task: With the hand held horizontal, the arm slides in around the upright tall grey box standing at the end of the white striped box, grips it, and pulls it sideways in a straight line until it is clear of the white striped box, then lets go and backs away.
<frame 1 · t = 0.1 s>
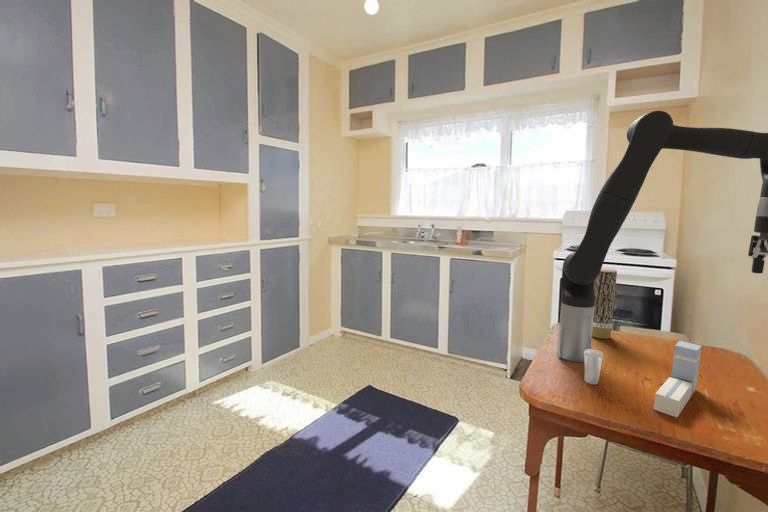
hand: (766, 275, 101), 29 cm above the table, tool pointing down, fingers open, 8 cm apart
tall grey box: (685, 367, 98), point 6 cm above the table, slide at 0.0 cm
white striped box: (673, 394, 92), on the table
paper tube: (599, 337, 138), on the table
milkshake: (590, 382, 103), on the table
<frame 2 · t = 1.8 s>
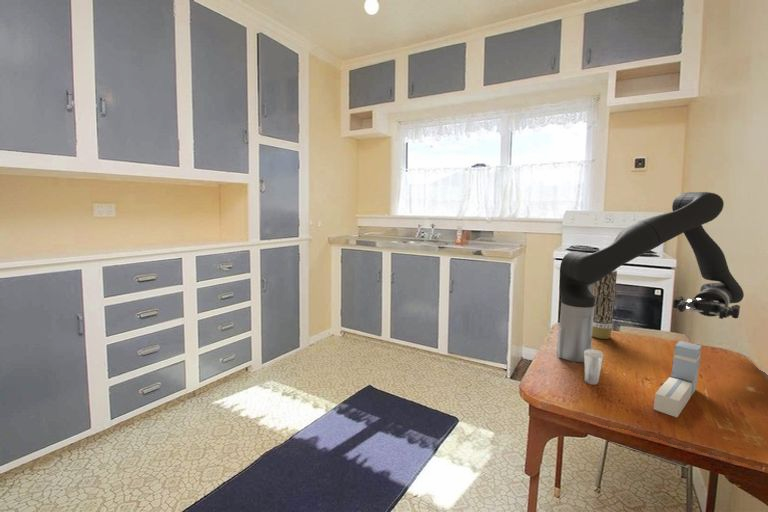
hand: (700, 311, 103), 19 cm above the table, tool horizontal, fingers open, 8 cm apart
nothing on the table moved.
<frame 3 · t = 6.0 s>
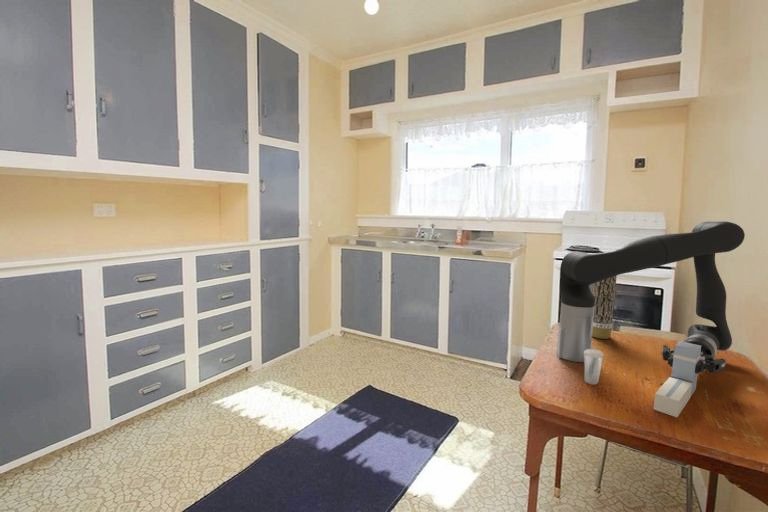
hand: (684, 366, 96), 7 cm above the table, tool horizontal, fingers closed on tall grey box, 4 cm apart
tall grey box: (685, 367, 98), point 6 cm above the table, slide at 0.0 cm, touching gripper
everything else where it was.
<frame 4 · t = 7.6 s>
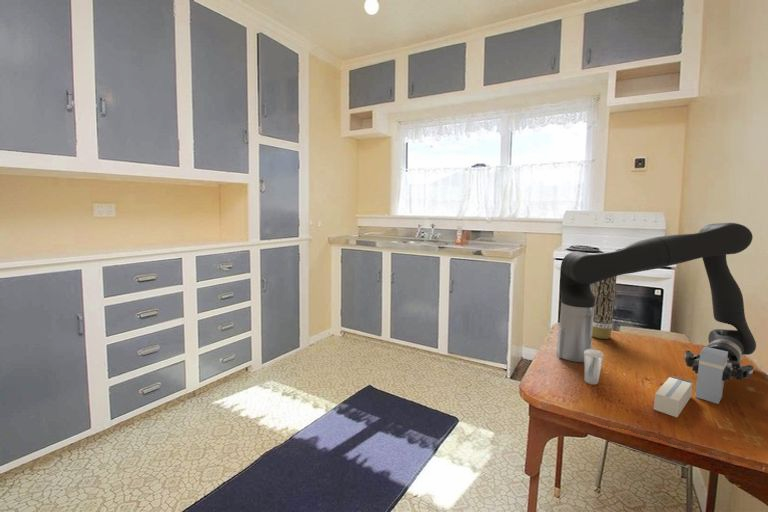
hand: (710, 373, 92), 7 cm above the table, tool horizontal, fingers closed on tall grey box, 4 cm apart
tall grey box: (711, 374, 94), point 6 cm above the table, slide at 5.1 cm, touching gripper
everything else where it was.
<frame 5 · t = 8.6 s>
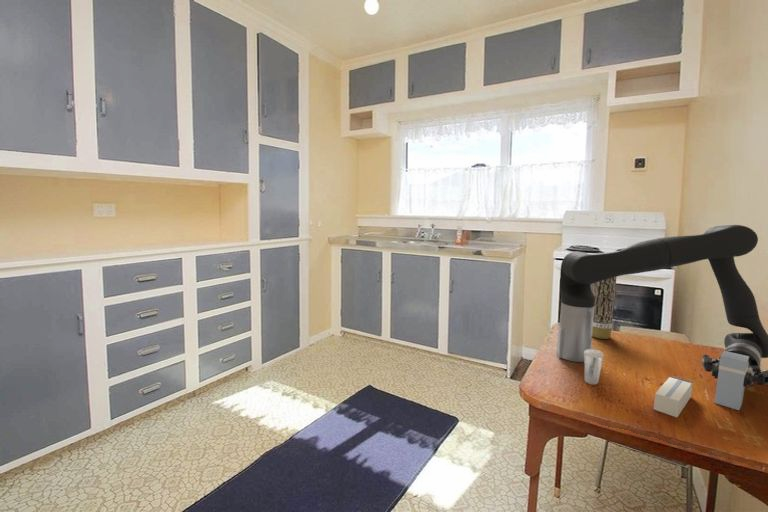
hand: (730, 378, 90), 7 cm above the table, tool horizontal, fingers closed on tall grey box, 4 cm apart
tall grey box: (731, 379, 91), point 6 cm above the table, slide at 8.9 cm, touching gripper
everything else where it was.
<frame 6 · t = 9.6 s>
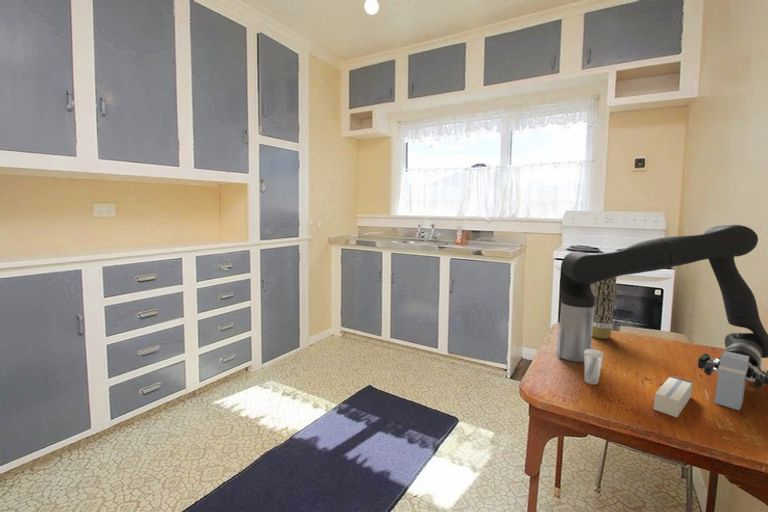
hand: (731, 377, 90), 7 cm above the table, tool horizontal, fingers open, 8 cm apart
tall grey box: (731, 379, 91), point 6 cm above the table, slide at 8.9 cm
everything else where it was.
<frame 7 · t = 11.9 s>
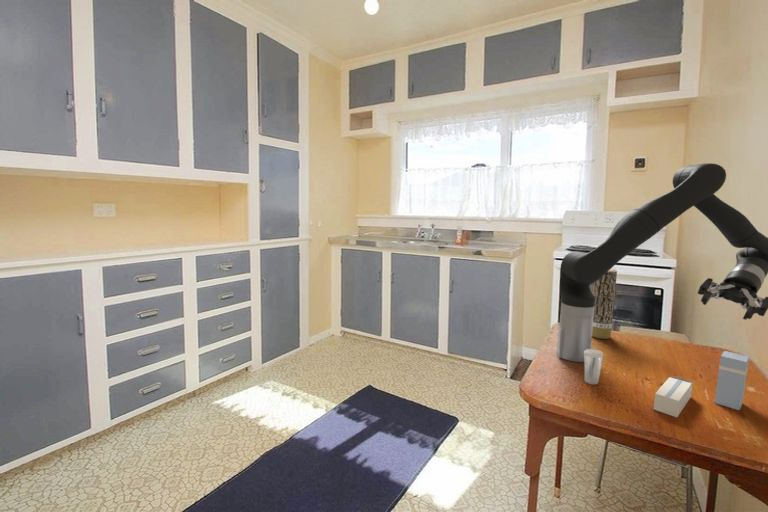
hand: (724, 309, 99), 21 cm above the table, tool tilted 70°, fingers open, 8 cm apart
nothing on the table moved.
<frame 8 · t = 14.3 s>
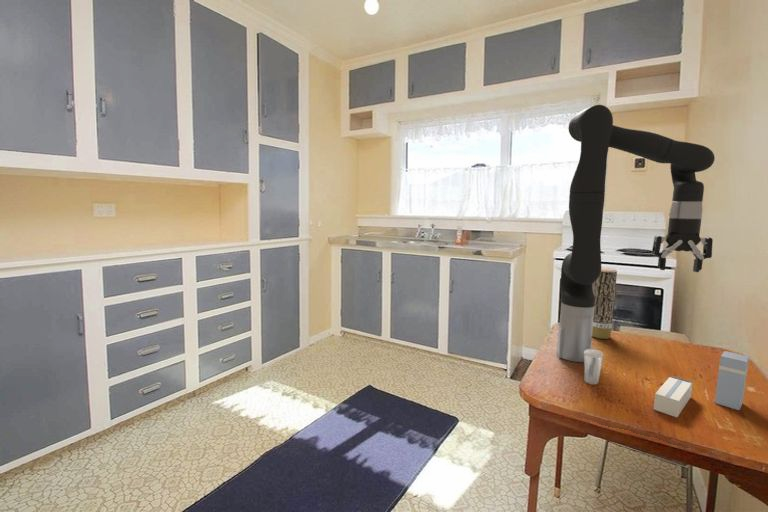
hand: (678, 270, 114), 28 cm above the table, tool pointing down, fingers open, 8 cm apart
nothing on the table moved.
at the end: tall grey box slide at 8.9 cm; the gripper is holding nothing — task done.
